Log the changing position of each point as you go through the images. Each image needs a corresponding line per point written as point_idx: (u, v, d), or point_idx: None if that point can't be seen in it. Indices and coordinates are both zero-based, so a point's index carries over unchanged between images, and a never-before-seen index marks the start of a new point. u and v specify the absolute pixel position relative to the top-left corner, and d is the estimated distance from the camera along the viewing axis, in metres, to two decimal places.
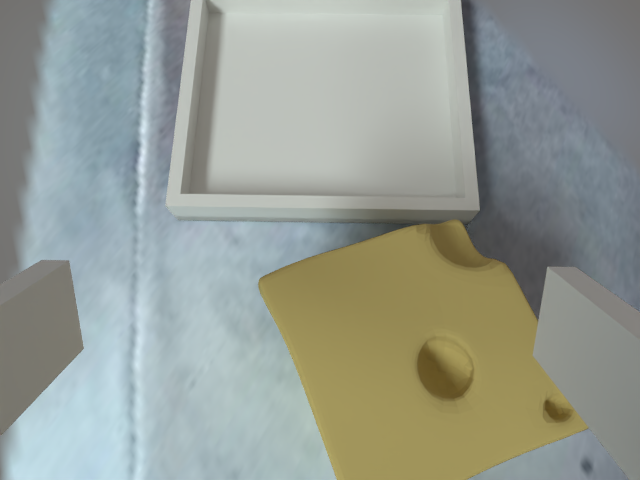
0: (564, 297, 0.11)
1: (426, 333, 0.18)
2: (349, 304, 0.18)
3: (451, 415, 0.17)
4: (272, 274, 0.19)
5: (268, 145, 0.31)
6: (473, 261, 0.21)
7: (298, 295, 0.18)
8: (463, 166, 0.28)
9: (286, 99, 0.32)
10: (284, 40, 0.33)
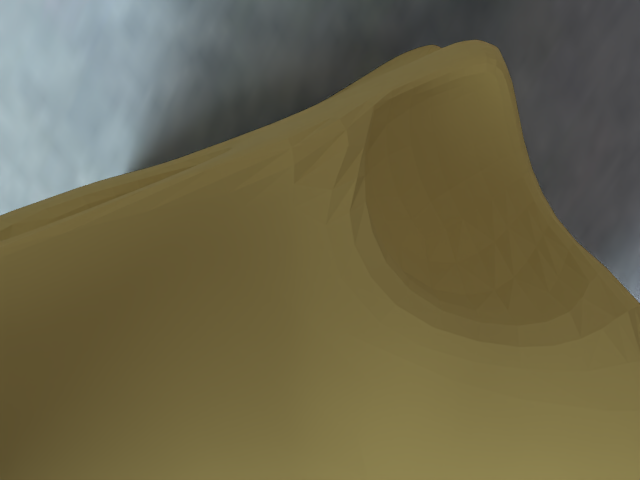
0: None
1: None
2: (35, 461, 0.05)
3: None
4: None
5: None
6: (516, 236, 0.06)
7: None
8: None
9: None
10: None
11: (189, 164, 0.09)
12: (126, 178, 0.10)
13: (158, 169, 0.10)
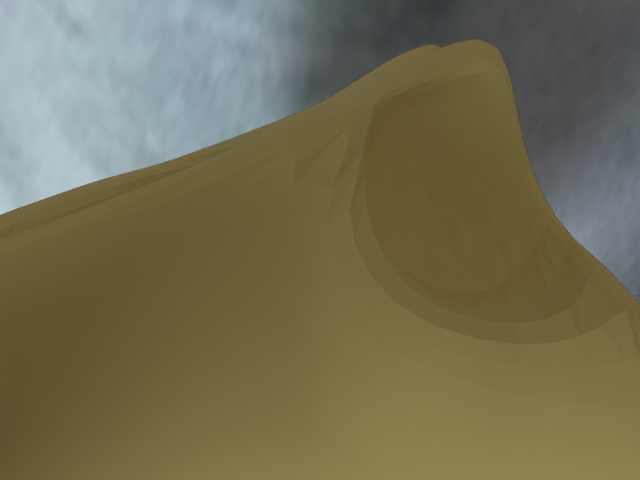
0: None
1: None
2: (37, 458, 0.05)
3: None
4: None
5: None
6: (515, 235, 0.06)
7: None
8: None
9: None
10: None
11: (190, 163, 0.09)
12: (127, 177, 0.10)
13: (159, 168, 0.10)
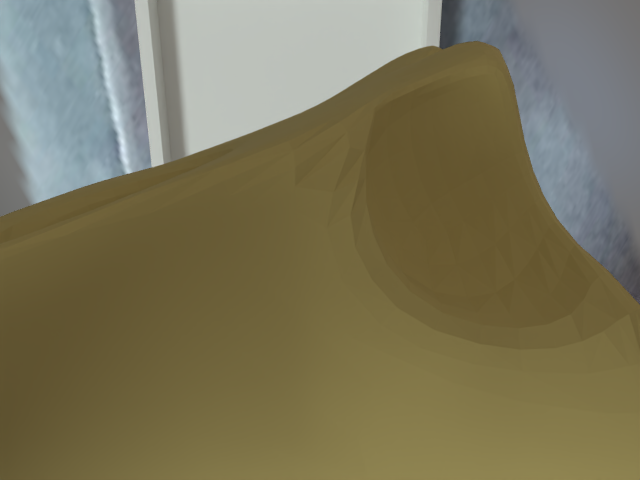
0: None
1: None
2: (36, 463, 0.05)
3: None
4: None
5: None
6: (517, 238, 0.06)
7: None
8: None
9: (252, 85, 0.31)
10: (244, 6, 0.30)
11: (190, 165, 0.09)
12: (126, 179, 0.10)
13: (158, 170, 0.10)
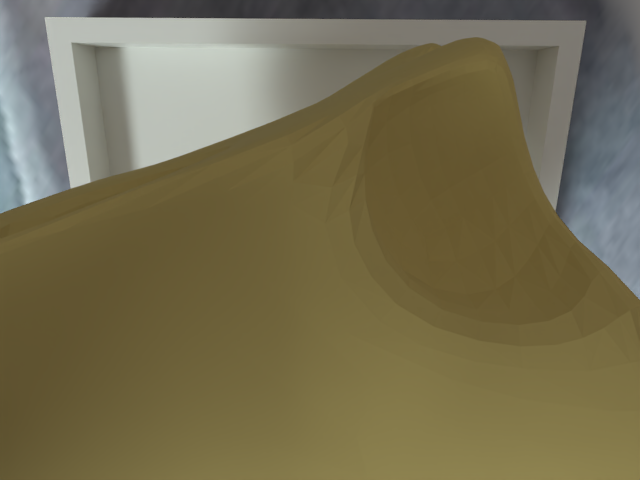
0: None
1: None
2: (31, 462, 0.05)
3: None
4: None
5: None
6: (516, 234, 0.06)
7: None
8: None
9: None
10: (242, 112, 0.19)
11: (188, 163, 0.09)
12: (125, 177, 0.10)
13: (157, 168, 0.10)
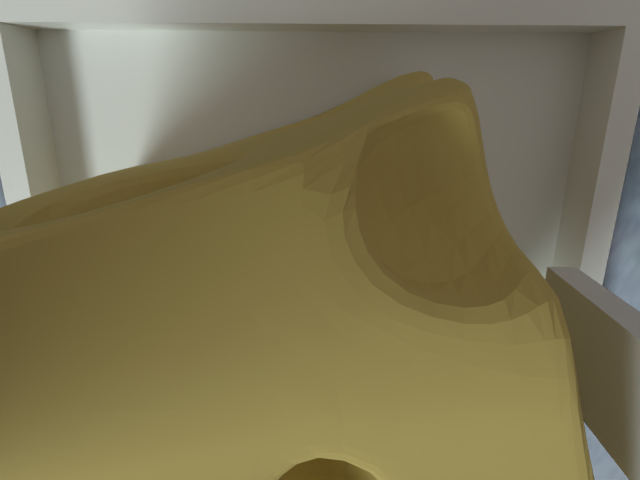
0: (564, 297, 0.11)
1: (293, 459, 0.07)
2: (84, 390, 0.07)
3: None
4: None
5: None
6: (472, 240, 0.07)
7: None
8: None
9: None
10: (221, 111, 0.15)
11: (207, 161, 0.11)
12: (149, 169, 0.11)
13: (178, 164, 0.11)
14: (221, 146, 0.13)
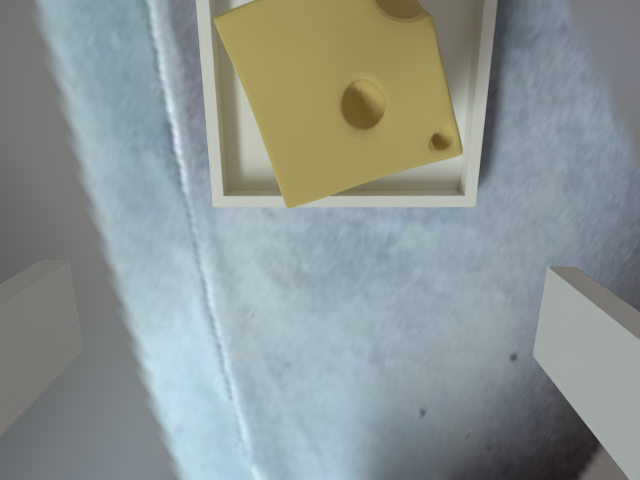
0: (564, 297, 0.11)
1: (352, 76, 0.23)
2: (291, 47, 0.22)
3: (361, 140, 0.24)
4: (225, 14, 0.22)
5: None
6: (409, 9, 0.23)
7: (248, 35, 0.22)
8: (468, 167, 0.32)
9: None
10: None
11: None
12: None
13: None
14: None
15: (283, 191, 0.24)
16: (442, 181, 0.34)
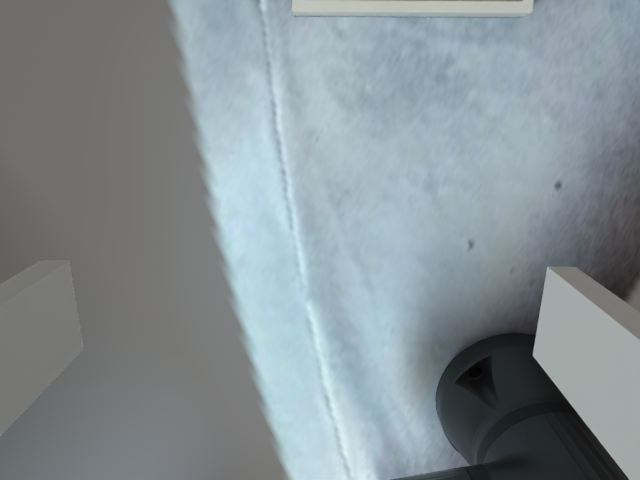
0: (564, 297, 0.11)
1: None
2: None
3: None
4: None
5: None
6: None
7: None
8: None
9: None
10: None
11: None
12: None
13: None
14: None
15: None
16: None
